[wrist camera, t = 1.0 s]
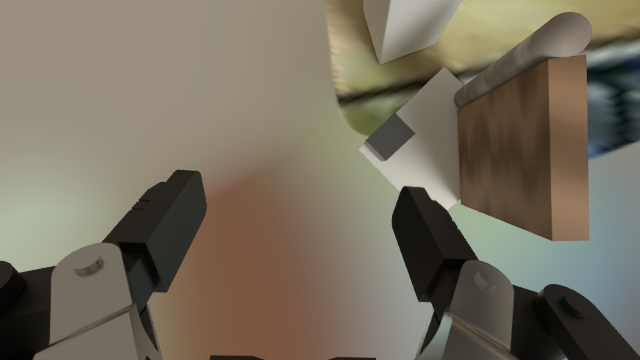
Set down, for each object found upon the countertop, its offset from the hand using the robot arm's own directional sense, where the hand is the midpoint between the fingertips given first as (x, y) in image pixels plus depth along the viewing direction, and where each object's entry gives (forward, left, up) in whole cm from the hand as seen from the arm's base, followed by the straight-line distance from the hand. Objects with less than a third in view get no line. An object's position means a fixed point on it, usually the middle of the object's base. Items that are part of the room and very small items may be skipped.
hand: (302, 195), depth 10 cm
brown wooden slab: (-13, +8, -23) cm, 27 cm away
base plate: (-11, +6, -24) cm, 27 cm away
